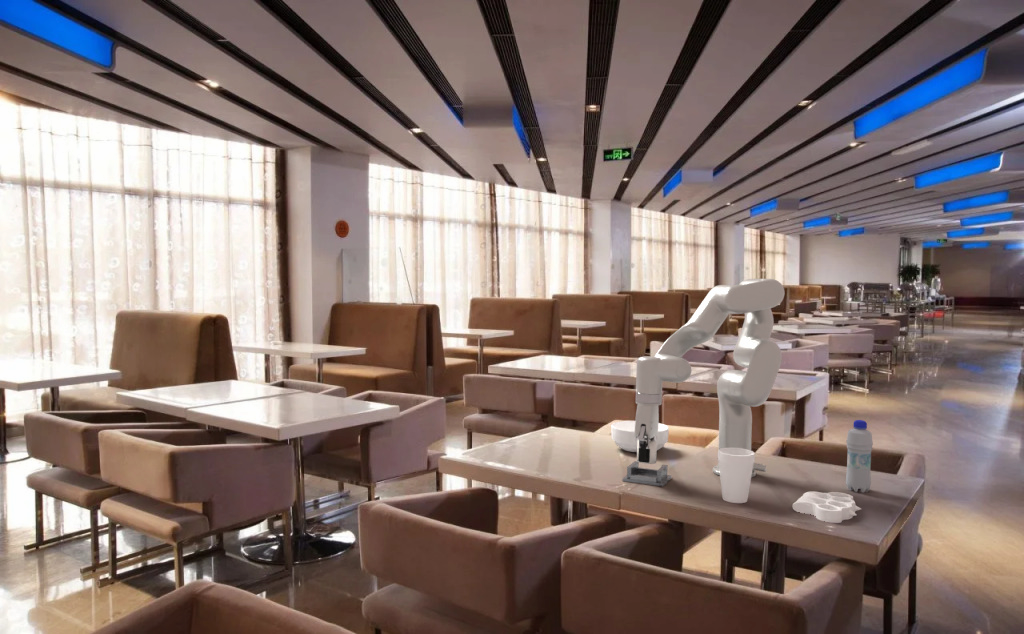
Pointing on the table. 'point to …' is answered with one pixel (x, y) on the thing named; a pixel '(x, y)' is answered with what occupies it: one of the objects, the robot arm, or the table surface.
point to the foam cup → (735, 473)
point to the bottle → (859, 457)
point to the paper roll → (652, 451)
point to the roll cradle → (647, 475)
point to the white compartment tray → (827, 506)
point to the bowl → (627, 440)
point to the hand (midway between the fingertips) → (646, 459)
